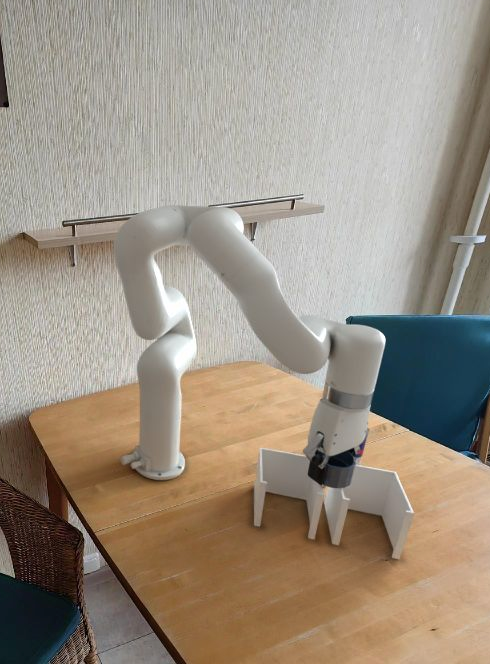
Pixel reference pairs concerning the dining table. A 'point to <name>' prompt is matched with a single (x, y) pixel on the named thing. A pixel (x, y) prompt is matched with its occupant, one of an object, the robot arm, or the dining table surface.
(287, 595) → the dining table surface
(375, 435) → the dining table surface
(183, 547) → the dining table surface
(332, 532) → the white angular panels
